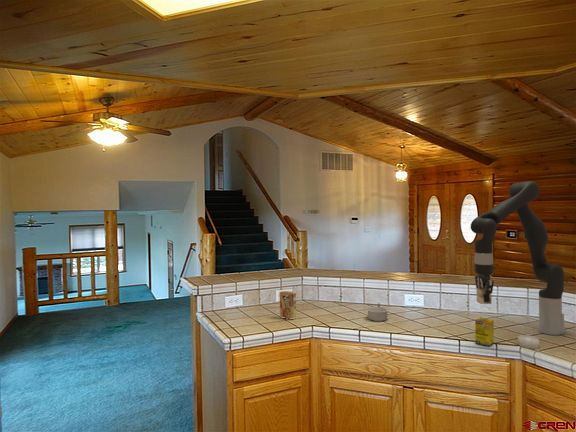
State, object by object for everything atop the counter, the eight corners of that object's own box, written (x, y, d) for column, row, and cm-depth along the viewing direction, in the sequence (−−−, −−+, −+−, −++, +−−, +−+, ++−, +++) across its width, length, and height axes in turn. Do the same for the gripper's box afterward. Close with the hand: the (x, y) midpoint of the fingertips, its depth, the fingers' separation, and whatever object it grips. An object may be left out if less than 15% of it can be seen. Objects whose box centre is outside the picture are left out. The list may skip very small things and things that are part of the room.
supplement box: (475, 344, 174) (474, 319, 174) (480, 340, 178) (479, 317, 178) (489, 347, 170) (489, 322, 169) (494, 343, 174) (493, 319, 174)
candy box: (296, 318, 220) (296, 291, 220) (294, 320, 217) (293, 293, 216) (282, 316, 224) (282, 290, 224) (279, 318, 220) (279, 292, 220)
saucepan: (389, 313, 228) (389, 303, 227) (387, 323, 208) (387, 312, 208) (369, 312, 231) (369, 302, 231) (366, 321, 212) (365, 311, 212)
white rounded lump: (532, 342, 174) (532, 335, 174) (543, 349, 166) (543, 341, 166) (514, 342, 175) (514, 335, 175) (524, 349, 167) (523, 341, 167)
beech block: (486, 301, 176) (486, 288, 175) (491, 303, 171) (491, 290, 171) (476, 301, 176) (476, 288, 176) (481, 303, 171) (480, 290, 171)
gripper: (500, 265, 166) (500, 304, 166) (485, 260, 180) (485, 297, 180) (482, 265, 166) (482, 304, 167) (468, 260, 181) (469, 297, 181)
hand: (484, 300), depth 173 cm, fingers closed on beech block, 4 cm apart
